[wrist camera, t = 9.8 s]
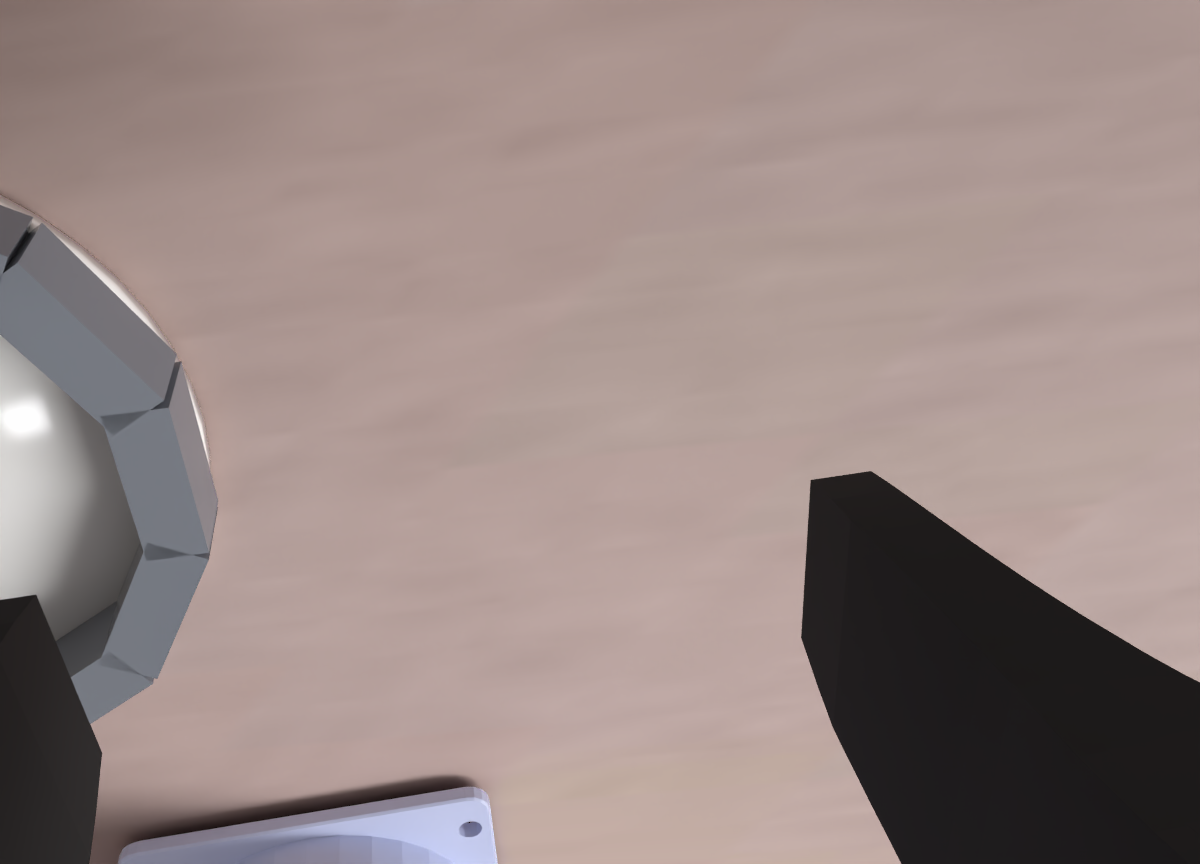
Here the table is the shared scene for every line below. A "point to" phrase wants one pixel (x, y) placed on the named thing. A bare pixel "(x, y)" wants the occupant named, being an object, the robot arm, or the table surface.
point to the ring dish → (96, 463)
